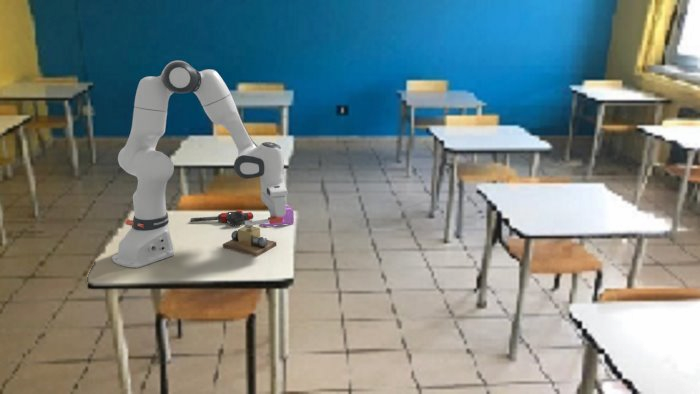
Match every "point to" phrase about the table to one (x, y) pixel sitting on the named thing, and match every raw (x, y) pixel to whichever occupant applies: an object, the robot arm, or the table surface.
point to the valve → (228, 218)
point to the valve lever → (263, 221)
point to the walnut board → (248, 248)
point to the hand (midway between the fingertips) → (273, 219)
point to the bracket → (284, 218)
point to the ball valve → (249, 237)
